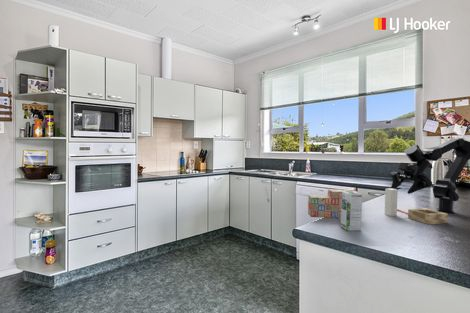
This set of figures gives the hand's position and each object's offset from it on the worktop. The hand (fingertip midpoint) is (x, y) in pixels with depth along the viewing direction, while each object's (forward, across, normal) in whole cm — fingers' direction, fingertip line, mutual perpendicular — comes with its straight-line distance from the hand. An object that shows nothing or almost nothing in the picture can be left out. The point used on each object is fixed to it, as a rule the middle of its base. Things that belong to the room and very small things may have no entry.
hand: (399, 191), depth 124 cm
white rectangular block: (+11, 0, +5) cm, 12 cm away
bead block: (+5, +11, +10) cm, 16 cm away
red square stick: (+4, -4, +12) cm, 13 cm away
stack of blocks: (+32, -4, -16) cm, 36 cm away
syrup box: (+35, +13, -19) cm, 42 cm away
